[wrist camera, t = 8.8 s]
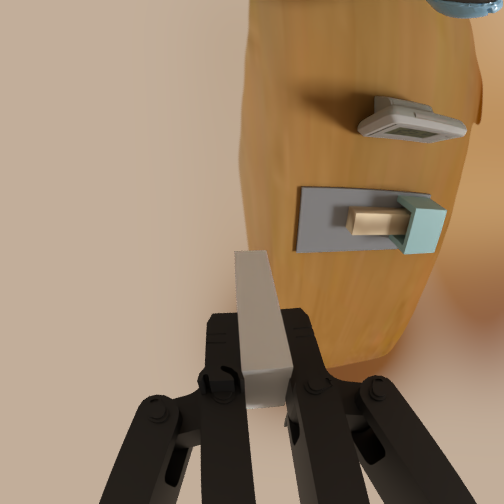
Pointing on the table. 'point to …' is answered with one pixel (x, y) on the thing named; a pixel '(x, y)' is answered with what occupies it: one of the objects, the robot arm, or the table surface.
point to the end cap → (420, 225)
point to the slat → (377, 220)
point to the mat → (341, 218)
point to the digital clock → (409, 122)
